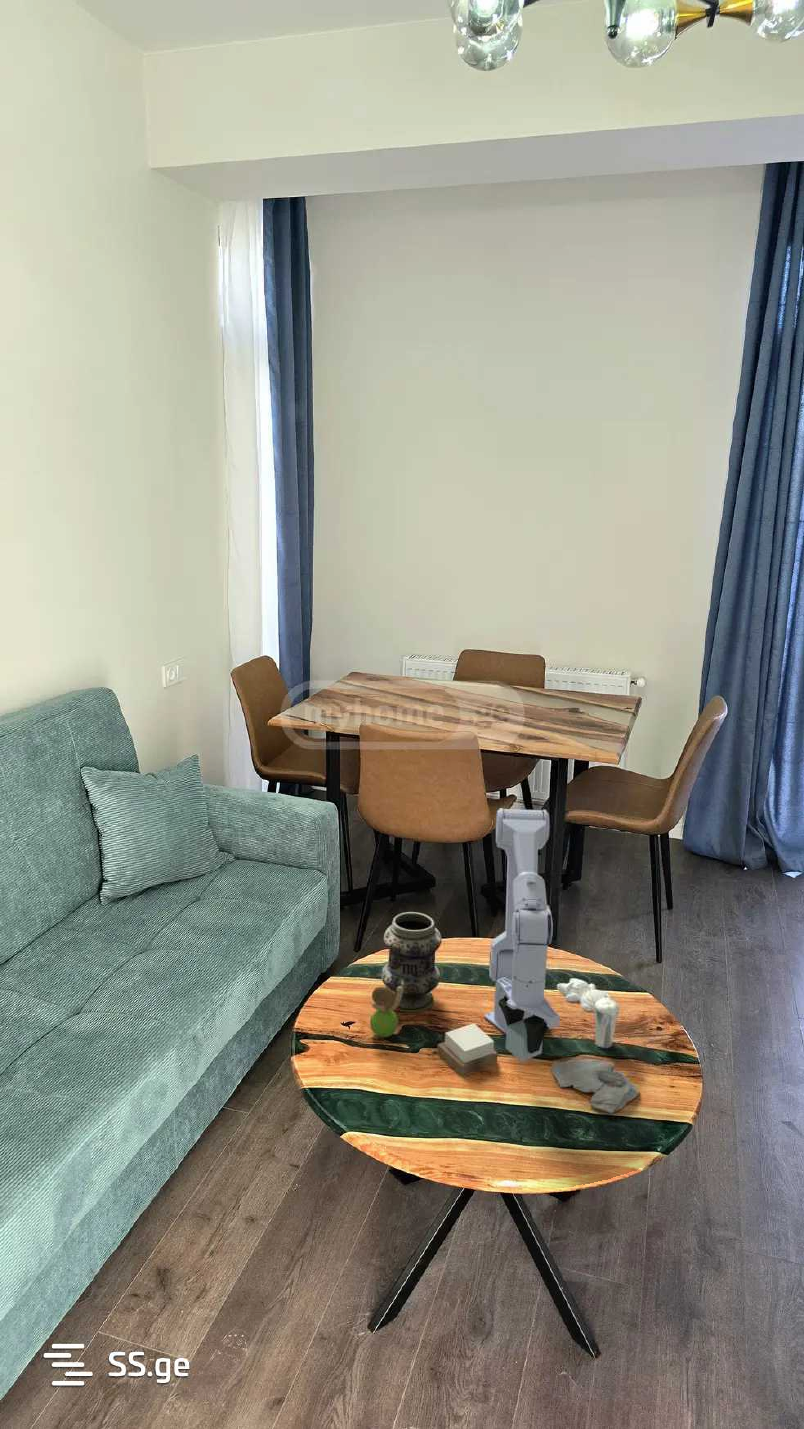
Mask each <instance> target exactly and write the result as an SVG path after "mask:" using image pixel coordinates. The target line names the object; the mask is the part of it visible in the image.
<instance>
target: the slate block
mask: <svg viewBox="0 0 804 1429" xmlns="http://www.w3.org/2000/svg"><path fill="white" fill-rule="evenodd" d="M505 1035H506V1036H505V1038H506V1039H505V1049H506V1050H507V1051H508V1052H509V1053H511V1055H513V1056H515V1057H516V1058H517V1059H518V1060H519V1061H521V1062H524V1061H526V1060H530V1059H532V1058H534V1057H536V1056H539V1055H541V1054H543V1041H544V1039H543V1040H542V1043H541V1046H540V1049H539V1051H536V1052H534V1053H529V1052H528V1048H527V1031H526V1027H525V1024H524V1022H523V1020H521V1021H519V1022H516V1023H513V1024H511V1025H508V1026H507V1034H506V1033H505Z"/></svg>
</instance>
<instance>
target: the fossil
mask: <svg viewBox="0 0 804 1429" xmlns="http://www.w3.org/2000/svg"><path fill="white" fill-rule="evenodd" d="M550 1068H551V1074H552V1076H553V1077H554V1078H555V1079H556V1080H557V1083H558V1085H559V1086H560V1087H561V1088H567V1087H570V1086H572V1087H573V1088H574V1089H575V1090H577V1091H580V1092H583V1093H594V1094H593V1095H592V1097H591V1098H590V1101H589V1105H590V1106H591V1107H593V1108H596V1109H597V1110H600V1111H601V1112H602V1111H603V1112H605V1113H606V1112H607V1113H612V1114H613V1113H614V1112H616V1111H617V1112H618V1111H621V1110H622V1109H623V1108H624V1107H625V1106H627V1103H628V1102H630V1101H632V1100H634V1099H635V1098H636V1097H637V1096H638V1095H639V1086H638V1085H636V1084H633V1083H631V1081H630V1079H629V1078H628V1077H627V1076H626V1075H625V1074H624V1073H623V1072H620V1071H619V1070H615V1064H614V1063H612V1062H604V1061H601V1060H600V1059H596V1058H594V1057H593V1058H591V1059H576V1058H575V1059H570V1060H567V1061H562V1062H559V1061H557V1062H554V1063H552V1064H551V1067H550Z"/></svg>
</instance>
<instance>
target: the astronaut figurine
mask: <svg viewBox="0 0 804 1429" xmlns="http://www.w3.org/2000/svg"><path fill="white" fill-rule="evenodd" d="M556 990H557V991H558V992H560V993H561V994H562V995H565V1001H567V1002H579V1004H580V1007H581V1009H582V1010H583V1011H586V1012H594V1013H595V1005H594V1004H595V1003H596V1001H598V1000H600V999H601V998H607V999H611V1000H612V997H611V995H610V994H608V993H606V992H604V991H602V990H600V989H596V985H595V984H594V983H590V984H589V983H588V982H586V981H585V980H582V979H578V978H570V979H569V982H568V983H565V982H563V983H558V984H556ZM592 999H593V1000H592ZM593 1001H594V1002H593Z"/></svg>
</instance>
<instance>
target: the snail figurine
mask: <svg viewBox="0 0 804 1429" xmlns="http://www.w3.org/2000/svg"><path fill="white" fill-rule="evenodd" d="M403 984H404V981H402V983H401V985H402V987H401V986H399V987H397V994H396V998H395V996H394V993H393V992H392V990H391V989H389V988H388V987H387V986H386V985H384V986H383V985H381V986H377V987H375V988H374V989H373V991H372V993H371V998H372V1001H373V1002H374V1003H371V1006H372V1007H373V1008H374V1009H375V1011H374V1012H372V1014H371V1016H370V1020H369V1024H370V1026H369V1027H370V1029H371V1031H372V1033H373V1034H375V1035H376V1036H377V1037H380V1038H389V1037H390V1036H392V1035H393V1034H395V1032H396V1031H397V1029H398V1026H399V1019H398V1016H397V1014H396V1012H394V1011H396V1010H395V1009H396V1008H397V1007H398V1006H399V1004H400V1001H401V998H402V994H403V992H404V991H403V990H404V988H403Z"/></svg>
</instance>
